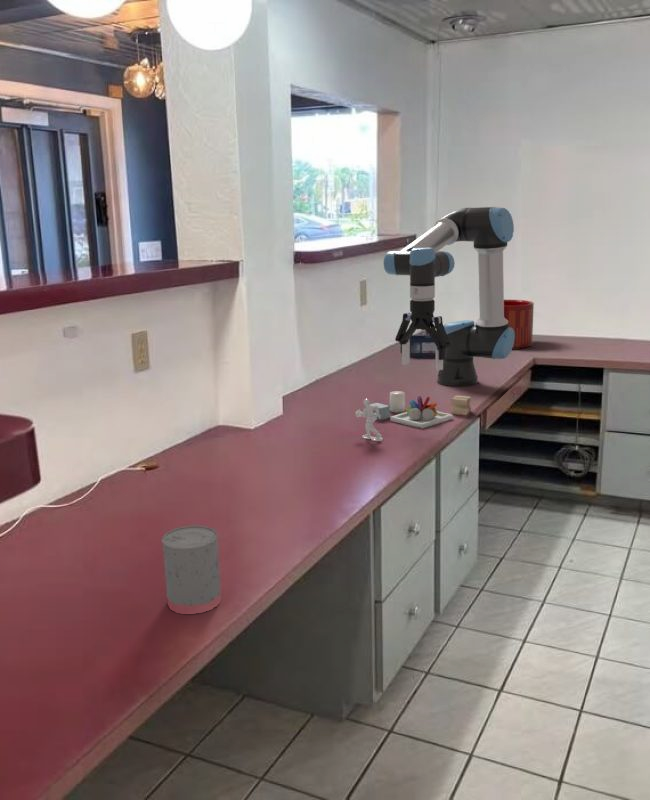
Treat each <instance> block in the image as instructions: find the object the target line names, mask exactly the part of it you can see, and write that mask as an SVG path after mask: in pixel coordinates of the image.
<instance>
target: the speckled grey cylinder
mask: <svg viewBox="0 0 650 800" xmlns="http://www.w3.org/2000/svg"><path fill="white" fill-rule="evenodd" d="M218 534H219V533H218V532H217V531H216V529H214V528H211V527H209V526H204V525H203V526H202V525H188V526H186V525H185V526H182V527H178V528H174V529H172V530H169V531H168V532H166V533H165V534H164V535H163V536H162V538H161V543H162V549H163V562H164V563H163V564H164V575H165V585H166V586H165V588H166V599H167V598H168V600H169V601H170V602H172V603H174V604H179V605H187V606H192V605H202V604H205V603H208V602H210V601H213V600H214V599H216V598H217V597H218V596H219V595H220V593H221V594H222V591H221V590H222V588H221V575H220V574H221V573H220V559H219V558H220V556H219V545H218V543H219V542H218V537H219V535H218Z"/></svg>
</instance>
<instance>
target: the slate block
mask: <svg viewBox="0 0 650 800" xmlns="http://www.w3.org/2000/svg"><path fill="white" fill-rule="evenodd" d="M369 406H378V408H379V415H381V418H379V417H376V418H377V420H378V421H382V420H386V419H389V418H390V417H391V413H390V412H391V411H390V405H387V404H383V403H379V402H374V403H369ZM373 413H375V414H376V410H375V409H374V410H373Z"/></svg>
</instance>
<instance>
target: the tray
mask: <svg viewBox="0 0 650 800" xmlns="http://www.w3.org/2000/svg"><path fill="white" fill-rule="evenodd" d="M436 411H437V416H434V418H433V419H432V420H430V421H426V420H424V419H423V418H422V416H421V417H420V419H418V420H412V419H410V417H409V415H408V413H407V411H404V412H400V413H398V414H395V415H390V422H393V423H396V424H397V423H398V424H400V425H401V424H402V425H405V426H409V427H412V428H417V429H421V430H422V429H426V428H429V427H431V426H434V425H438V424H442V423H445V422H447V421H451V420H453V419H454V414H451V413H446V412H443V411H439V410H436Z"/></svg>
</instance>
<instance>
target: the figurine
mask: <svg viewBox="0 0 650 800" xmlns="http://www.w3.org/2000/svg"><path fill="white" fill-rule="evenodd" d="M363 404H364V405H363V406H364V408H363V409H362V410H363V411H361V409H360V408H359V409H358V410H356V411H355V413H354V414H355V416H356V418H359V417H360V418H362V417H363V418H364V419H365V418H366V419H365V422H366V423H365V424H364V425H365V427H364V428H365V432H366V434H363V435H362V436H361V438H362V439H366V440H370V439H371V440H370V441H373V442H383V441H384V438H383V437H382V434H381V433H380V432H379V431H378V430H377V429H376V428H375V427H374V424H373V423H375V421H377V420H378V419H377V418H376V417H379V418H381V415H379V408H378V406H369V405H370V400H369V399H367V398H364V400H363ZM374 409H375V410H376V414H375V413H373V410H374ZM371 432H372V433H373V434H374V435H375V436H372V435H371Z"/></svg>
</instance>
